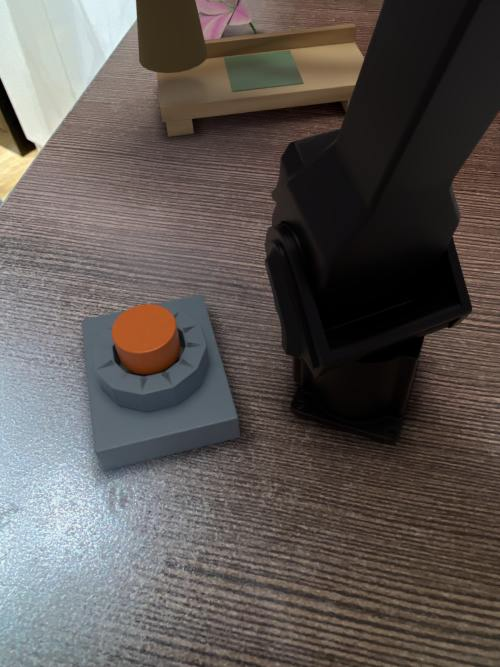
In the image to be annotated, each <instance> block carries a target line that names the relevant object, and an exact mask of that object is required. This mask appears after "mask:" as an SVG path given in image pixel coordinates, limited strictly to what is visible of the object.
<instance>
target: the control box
mask: <svg viewBox="0 0 500 667" xmlns="http://www.w3.org/2000/svg"><path fill="white" fill-rule="evenodd" d="M152 304H153V305H158V306H161V307H164V308H166V309H167V310H169V311H170V312H171V313H172V315H173V316H174V318H175V320H176V324H177V329H178V334H179V339H180V344H181V350H180V354H179V356H178V358H177V360H176V361H175V362H174V363H173V364H172V365H171V366H170V367H169V368H167V369H166V370H164V371H162V372H159V373H156V374H151V375H141V374H136V373H133V372H131V371H129V370H128V369H126V368H125V367H124V366H123V365H122V363H121V361H120V359H119V356H118V353H117V350H116V347H115V344H114V341H113V338H112V328H113V325H114V322H115V321H116V319H117V318H118V317H119V316H120V315H121V314H122V313H123V312H125V311H126V310H127V309H126V310H120V311H116V312H112V313H107V314H103V315H98V316H92V317H88V318H84V319H81V329H82V340H83V349H84V350H83V351H84V358H85V370H86V379H87V388H88V398H89V408H90V418H91V428H92V437H93V438H92V439H93V447H94V454H95V456H96V458H97V460H98V462H99V463H100V466H101V468H102V469H103V471H104V472H106V471H110V470H114V469H118V468H124V467H126V466H131V465H135V464H139V463H143V462H147V461H151V460H155V459H158V458H159V459H160V458H163V457H167V456H171V455H175V454H178V453H183V452H187V451H191V450H196V449H199V448H203V447H208V446H211V445H215V444H219V443H224V442H227V441H231V440H235V439H239V438H241V429H240V420H239V415H238V412H237V407H236V405H235V402H234V397H233V395H232V391H231V387H230V384H229V381H228V377H227V374H226V370H225V367H224V363H223V359H222V356H221V353H220V348H219V345H218V343H217V342H218V341H217V338H216V335H215V332H214V328H213V325H212V321H211V317H210V315H209V311H208V308H207V305H206V301H205V297H204V295H203V294H202V293H200V294H196V295H192V296H186V297H182V298H177V299H172V300H168V301H163V302H159V303H152Z"/></svg>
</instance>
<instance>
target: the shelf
mask: <svg viewBox="0 0 500 667" xmlns="http://www.w3.org/2000/svg"><path fill="white" fill-rule="evenodd" d="M356 35H357V25H356V24H355V23H345V24H338V25H337V24H336V25H328V26H320V27H319V26H318V27H308V28H301V29H291V30H282V31H274V32H263V33H258V34H255V33H254V34H247V35H237V36H228V37H220V38H218V39H209V40H205V44H206V48H207V58H206V60H205V61H204V62H203V63H202V64H200V65H199V66H197V67H195V68H192V69H190V70H186V71H182V72H176V73H158V72H155V73H156V80H157V81H156V82H157V91H158V101H159V110H160V115H161V122H162V123H165V124H166V131H167V136H168V137H170V138H171V137H178V136H179V137H180V136H186V135H194V133H195V132H194V123H193V119H201V118H202V119H203V118H210V117H218V116H228V115H235V114H236V115H237V114H243V113H253V112H261V111H270V110H278V109H286V108H295V107H303V106H310V105H311V106H312V105H320V104H329V103H337V102H338V103H339V102H340V104H341V106H342V108H343V111H344V112H345V113H346V111H347V108H348V105H349V102H350V99H351V96H352V93H353V90H354V87H355V84H356V82H357V79H358V76H359V73H360V70H361V67H362V64H363V61H364V58H365V56H364V55H363V54H362V52H361V50H360V49H359V47H358V45H357V43H356Z"/></svg>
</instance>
